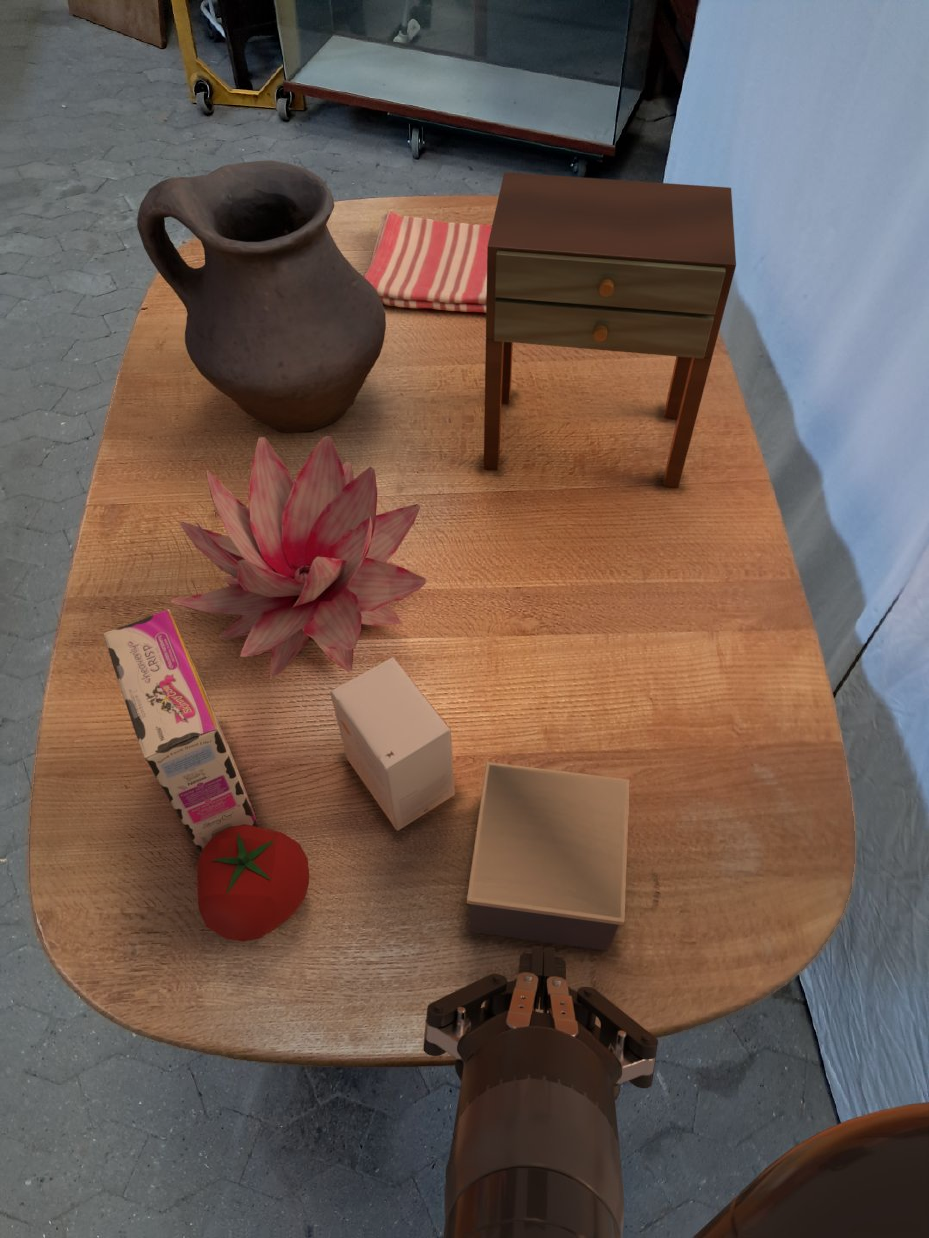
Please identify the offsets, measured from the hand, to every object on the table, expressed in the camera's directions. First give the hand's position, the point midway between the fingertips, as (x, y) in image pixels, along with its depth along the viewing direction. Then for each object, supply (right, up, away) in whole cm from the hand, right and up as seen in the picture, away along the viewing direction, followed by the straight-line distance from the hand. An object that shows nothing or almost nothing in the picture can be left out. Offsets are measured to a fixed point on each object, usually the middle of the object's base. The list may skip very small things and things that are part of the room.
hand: (541, 960), depth 57 cm
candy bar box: (-25, +8, +16) cm, 30 cm away
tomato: (-20, +1, +10) cm, 22 cm away
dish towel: (-5, +65, +58) cm, 87 cm away
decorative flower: (-19, +22, +26) cm, 39 cm away
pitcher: (-24, +45, +43) cm, 67 cm away
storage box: (+1, +2, +11) cm, 11 cm away
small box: (-10, +9, +16) cm, 21 cm away
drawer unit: (+8, +41, +40) cm, 57 cm away
